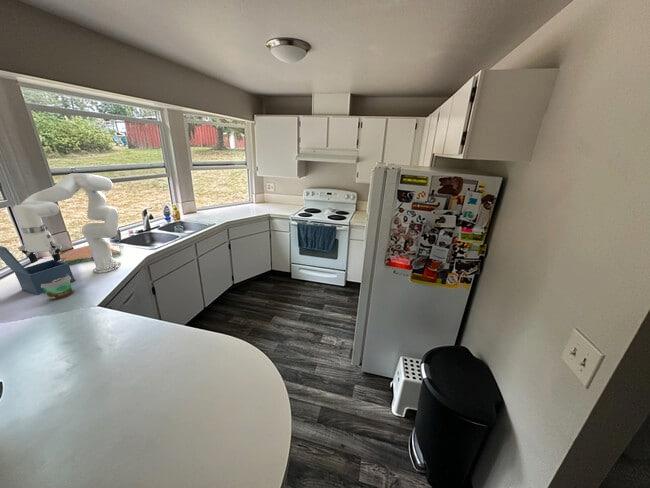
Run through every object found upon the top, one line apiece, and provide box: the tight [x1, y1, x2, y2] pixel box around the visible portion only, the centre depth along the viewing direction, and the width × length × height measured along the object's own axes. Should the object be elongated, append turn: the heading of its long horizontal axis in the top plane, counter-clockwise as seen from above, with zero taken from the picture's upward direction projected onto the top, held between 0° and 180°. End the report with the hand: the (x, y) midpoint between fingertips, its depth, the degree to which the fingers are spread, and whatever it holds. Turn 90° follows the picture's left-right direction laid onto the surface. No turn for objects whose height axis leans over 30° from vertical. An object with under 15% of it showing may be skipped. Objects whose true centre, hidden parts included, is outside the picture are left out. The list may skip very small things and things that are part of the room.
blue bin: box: [13, 259, 76, 295], centre depth 144 cm, size 17×15×12 cm
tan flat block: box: [59, 243, 121, 265], centre depth 184 cm, size 23×33×8 cm
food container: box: [41, 274, 73, 301], centre depth 134 cm, size 12×6×10 cm, turn 168°
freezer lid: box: [0, 245, 30, 275], centre depth 128 cm, size 17×15×5 cm
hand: (46, 261), depth 128 cm, fingers open, 9 cm apart
